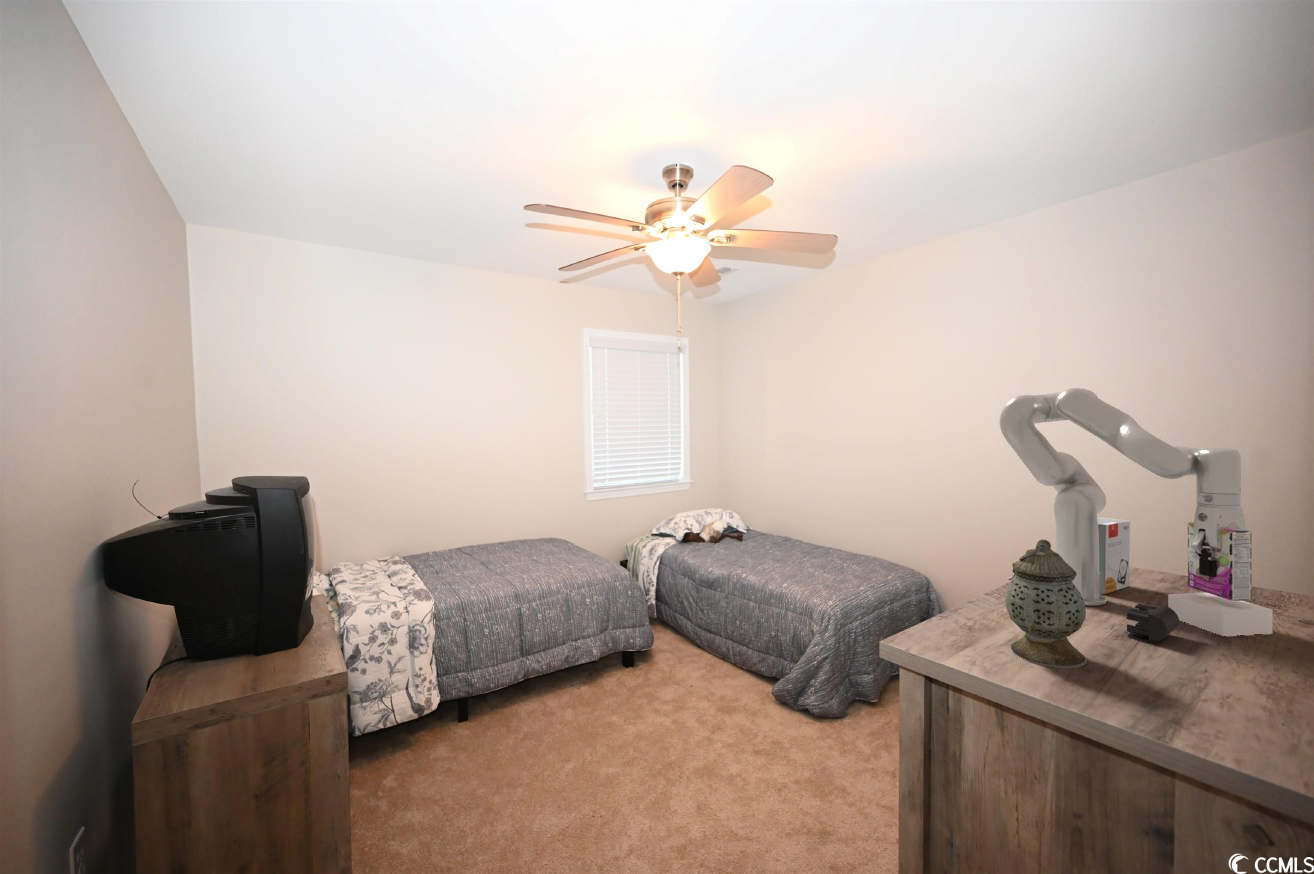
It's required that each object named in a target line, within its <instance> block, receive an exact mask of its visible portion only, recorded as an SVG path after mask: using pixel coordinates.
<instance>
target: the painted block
mask: <svg viewBox="0 0 1314 874" xmlns="http://www.w3.org/2000/svg"><path fill="white" fill-rule="evenodd" d="M1167 596H1168V599H1167V601H1168V602H1167V603H1168V605H1167V607H1169V608H1171V609H1172V610H1174V611H1175V613H1176V614H1177V615H1178V618H1179V620H1180V621H1179V622H1181V621H1182V622H1181V623H1184V622H1186V623H1185V624H1187V623H1189V624H1188V625H1190V624H1191V625H1190V626H1192V625H1195V626H1197V627H1196V628H1198V627H1199V628H1198V629H1201V628H1202V630H1204V629H1205V630H1204V631H1206V630H1207V632H1209V631H1210V632H1209V633H1212V632H1213V633H1212V634H1215V633H1216V634H1215V635H1218V634H1219V635H1218V636H1220V635H1222V636H1221V637H1223V636H1226V637H1238V636H1237V635H1239V637H1241V636H1240V635H1245V636H1255V635H1254V634H1263V635H1272V634H1273V609H1272V608H1269V607H1265V606H1261V605H1259V604H1256V603H1255V604H1254V603H1251V602H1248V601H1246V600H1241V601H1232V600H1229V599H1225V598H1222V597H1219V596H1216V595H1213V594H1210V593H1207V592H1193V593H1192V592H1191V593H1170V594H1167ZM1195 626H1194V627H1195ZM1271 633H1272V634H1271Z"/></svg>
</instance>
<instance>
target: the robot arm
mask: <svg viewBox="0 0 1314 874" xmlns="http://www.w3.org/2000/svg"><path fill="white" fill-rule="evenodd" d="M1059 421H1070V422H1072V423H1073V424H1075V425H1076V426H1079V427H1080V428H1082V429H1083V430H1085V431H1086V432H1089V433H1091V434H1092V435H1093V436H1095V437H1097V438H1098V439H1100V440H1102V441H1103V442H1105V443H1106V444H1107V445H1109V446H1110V447H1111V448H1113V449H1114V450H1117V452H1119V453H1120V454H1122V455H1123V456H1125V457H1127V458H1128V459H1129V460H1130V461H1133V462H1135V463H1136V464H1138V465H1139V466H1141V467H1143V468H1144V469H1145V470H1147V471H1149V472H1151V473H1153V474H1154V475H1157V476H1158V477H1160V478H1163V479H1164V478H1165V479H1168V480H1176V479H1179V478H1181V479H1182V478H1183V477H1186V476H1195V478H1196V479H1195V482H1196V484H1195V485H1196V489H1195V490H1196V493H1195V495H1196V496H1195V497H1196V499H1195V500H1196V501H1195V503H1196V508H1195V513H1194V520H1193V522H1194V541H1193V542H1192V544H1191V547H1192V548H1193V549H1194V550H1195V552H1196V553H1197V557H1198V558H1199V573H1200V574H1201V575H1205V576H1210V577H1216V576H1217V561H1215V560H1214V558H1215V554H1216V549H1222V530H1224V529H1230V528H1239V529H1244V530H1247V529H1246V521H1245V515H1244V510H1243V507H1242V504H1241V501H1242V500H1241V494H1242V493H1241V490H1242V489H1241V487H1242V485H1241V483H1242V481H1241V480H1242V479H1241V478H1242V477H1241V476H1242V475H1241V474H1242V473H1241V471H1242V470H1241V469H1242V467H1241V464H1242V461H1241V459H1242V458H1241V453H1240V451H1238V450H1237V449H1235V448H1225V447H1224V448H1223V447H1222V448H1221V447H1219V448H1218V447H1216V448H1215V447H1209V448H1208V447H1206V448H1194V447H1187V446H1186V447H1184V446H1173V445H1171V444H1169V443H1167V442H1165V441H1163V440H1162V439H1160V438H1158V437H1157V436H1155V435H1153V434H1151V433H1150V432H1148V431H1147V430H1146V429H1144V428H1143V427H1142V426H1141V425H1139V424H1138V422H1137V421H1136V420H1135V418H1134V417H1132V416H1131V415H1130V414H1128V413H1126V412H1124V411H1123V410H1120V409H1119V408H1116V407H1115V406H1113V405H1111V404H1110V403H1107V402H1106V401H1104V400H1102V399H1100V398H1099V397H1098V395H1097V394H1096V393H1095V392H1093V391H1092V390H1089V389H1086V388H1079V387H1076V388H1075V387H1073V388H1068V389H1066V390H1064V391H1060V392H1053V393H1046V394H1045V393H1044V394H1023V395H1018V396H1014V397H1013V398H1011V399H1010V400H1008V402H1006V403H1005V405H1004V406H1003V408H1002V410H1001V413H1000V416H999V428H1000V432H1001V434H1002V436H1003V437H1004V439H1005V440H1006V442H1007V443H1008V445H1009V446H1010V448H1012V450H1013V451H1014V452H1015V453H1016V455H1017V456H1018V457H1019V459H1020V461H1022V463H1023V464H1024V465H1025V467H1026V468H1027V469H1028V471H1029V472H1030V473H1031V474H1032V476H1033V477H1034V479H1035V480H1036V481H1037V482H1038V483H1040V484H1041V485H1043V486H1046V487H1053V488H1054V489H1055V490H1056V492H1057V494H1056V495H1055V498H1054V501H1053V513H1054V520H1055V535H1056V536H1055V542H1056V543H1055V544H1056V551H1055V552H1057V553H1058V554H1059V555H1060V556H1061V557H1062V559H1063V560H1064V561H1065V562H1066V563H1067V564H1068V565H1070V566H1071V567H1072V568H1073V569H1074V571H1076V573H1077V575H1076V576H1075V578H1074V580H1073V581H1072V583H1073V584H1074V585H1075V587H1076V588H1077V589H1078V591H1079V592H1080V593H1081V596H1082V598H1083V600H1084V603H1085V605H1086V606H1103V605H1105V604H1107V597H1106V596H1105V595H1104V594H1100V593H1099V530H1098V521H1097V518H1098V514H1100V513H1101V512H1102V511H1104V509H1105V507H1106V505H1107V496H1106V493H1105V492H1104V490H1103V489H1102V487H1101V486H1100V485H1099V484H1098V483H1097V481H1096V480H1095V479H1094V478H1093V476H1091V475H1090V473H1089V472H1088V471H1087V470H1086V469H1085V467H1084V466H1083V465H1082V464H1081V463H1080V461H1079V460H1078V459H1077V458H1075V457H1074V456H1073V455H1071V454H1069V453H1067V452H1064V451H1057V449H1056V448H1054V446H1053V445H1052V444H1051V442H1050V441H1049V440H1048V439H1047V437H1045V435H1044V434H1043V433H1041V432H1040V430H1039V429H1038V428H1037V427H1036V425H1035V424H1040V423H1041V424H1042V423H1049V422H1059ZM1206 544H1209V545H1210V546H1212V547H1210V546H1206ZM1205 549H1209V550H1210V552H1209V553H1208V552H1207V550H1205Z"/></svg>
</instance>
